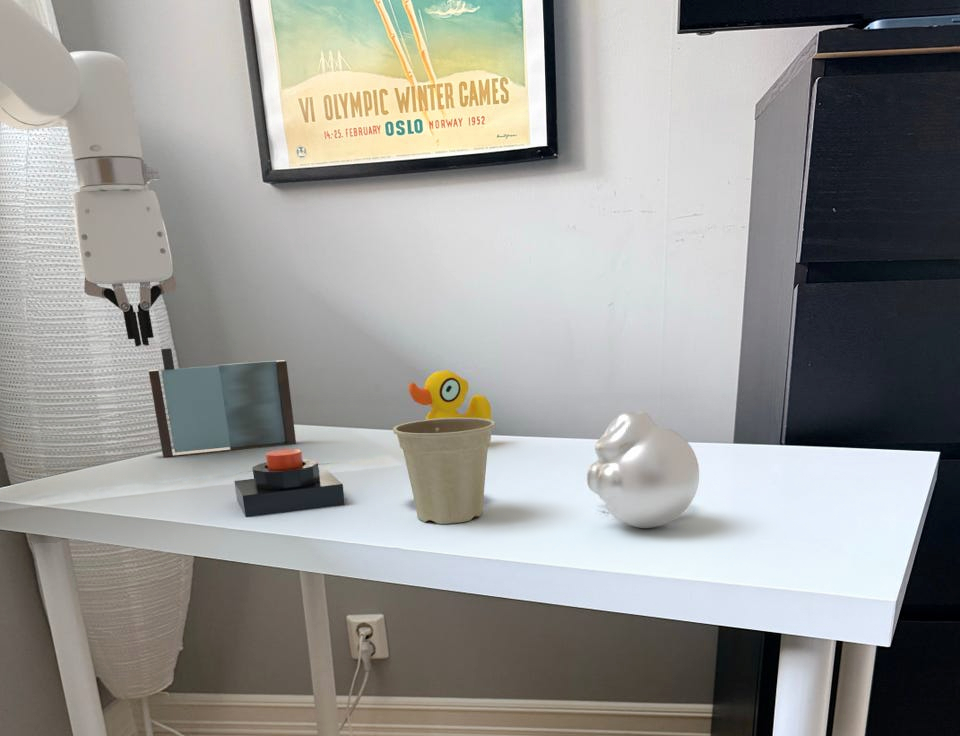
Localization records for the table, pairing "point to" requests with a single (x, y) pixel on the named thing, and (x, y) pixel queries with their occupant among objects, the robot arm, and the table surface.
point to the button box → (288, 490)
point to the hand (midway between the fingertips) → (142, 344)
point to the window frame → (243, 407)
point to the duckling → (449, 397)
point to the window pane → (194, 406)
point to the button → (284, 459)
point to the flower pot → (446, 466)
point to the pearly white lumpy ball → (643, 471)
